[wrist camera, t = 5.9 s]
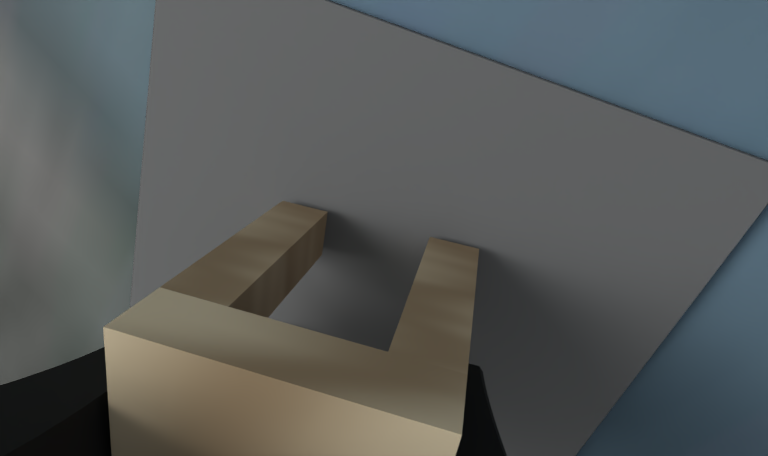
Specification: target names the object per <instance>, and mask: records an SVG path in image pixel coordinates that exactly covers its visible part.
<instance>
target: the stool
mask: <svg viewBox="0 0 768 456" xmlns="http://www.w3.org/2000/svg"><path fill="white" fill-rule="evenodd" d="M327 213H328V212H327V211H323V210H318V209H314V208H310V207H306V206H302V205H298V204H294V203H290V202H286V201H282V202H280V203H279V204H277V205H276V206H274V207H273V208H272V209H270V210H269V211H267V212H266V213H265V214H263V215H262V216H260V217H259V218H257V219H256V220H255V221H253V222H252V223H250V224H249V225H247V226H246V227H245V228H243V229H242V230H240V231H239V232H238V233H236V234H235V235H233V236H232V237H230V238H229V239H228V240H226V241H225V242H223V243H222V244H220V245H219V246H218V247H216V248H215V249H213V250H212V251H211V252H209V253H208V254H206V255H205V256H203V257H202V258H201V259H199V260H198V261H196V262H195V263H193V264H192V265H191V266H189V267H188V268H186V269H185V270H184V271H182V272H181V273H179V274H178V275H176V276H175V277H174V278H172V279H171V280H169V281H168V282H166V283H165V284H164V285H162V286H161V287H159V288H158V289H157V290H155V291H154V292H152V293H151V294H149V295H148V296H147V297H145V298H144V299H142V300H141V301H139V302H138V303H137V304H135V305H134V306H132V307H131V308H130V309H128V310H127V311H125V312H124V313H122V314H121V315H120V316H118V317H117V318H115V319H114V320H112V321H111V322H110V323H108V324H107V325H105V326H104V327H103V330H104V345H105V361H106V376H107V392H108V408H109V423H110V439H111V454H112V456H456V452H457V449H458V446H459V443H460V440H461V436H462V428H463V418H464V407H465V396H466V385H467V375H468V364H469V353H470V342H471V332H472V321H473V310H474V299H475V288H476V278H477V267H478V256H479V249H478V248H474V247H469V246H465V245H461V244H457V243H453V242H449V241H445V240H441V239H437V238H433V237H430V238H429V240H428V243H427V246H426V249H425V252H424V254H423V257H422V260H421V263H420V265H419V268H418V271H417V274H416V276H415V279H414V282H413V285H412V287H411V290H410V293H409V296H408V298H407V301H406V304H405V307H404V310H403V312H402V315H401V318H400V321H399V323H398V326H397V329H396V332H395V334H394V337H393V340H392V343H391V345H390V348H389V351H388V352H387V351H383V350H380V349H376V348H373V347H369V346H365V345H362V344H358V343H355V342H351V341H348V340H344V339H341V338H337V337H334V336H330V335H327V334H323V333H320V332H316V331H312V330H309V329H305V328H302V327H298V326H295V325H291V324H288V323H284V322H281V321H277V320H274V319H270V318H268V317H269V316H270V315H271V314H272V313H273V311H274V310H275V309H276V308H277V307H278V305H279V304H280V303H281V302H282V301H283V300H284V298H285V297H286V296H287V295H288V294H289V293H290V291H291V290H292V289H293V288H294V287H295V286H296V284H297V283H298V282H299V281H300V280H301V279H302V277H303V276H304V275H305V274H306V273H307V272H308V270H309V269H310V268H311V267H312V266H313V265H314V263H315V262H316V261H317V260H318V259H319V258H320V256H321V255H322V251H323V243H324V236H325V228H326V221H327Z"/></svg>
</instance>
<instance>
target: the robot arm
mask: <svg viewBox="0 0 768 456" xmlns="http://www.w3.org/2000/svg"><path fill="white" fill-rule="evenodd" d="M0 456H112V454H111V439H110V423H109V408H108V392H107V376H106V361H105V347H104V348H101V349H99V350H97V351H94V352H92V353H90V354H87V355H85V356H82V357H80V358H78V359H75V360H72V361H70V362H67V363H65V364H62V365H59V366H57V367H54V368H51V369H48V370H45V371H43V372H40V373H37V374H34V375H31V376H28V377H25V378H22V379H19V380H16V381H13V382H10V383H7V384H3V385H0ZM456 456H507V454H506V451H505V448H504V446H503V443H502V440H501V437H500V434H499V431H498V428H497V425H496V422H495V419H494V416H493V412H492V409H491V405H490V402H489V398H488V394H487V390H486V385H485V381H484V375H483V371H482V369H481V368H480V366H477V365H473V364H468V375H467V385H466V396H465V407H464V418H463V428H462V436H461V440H460V443H459V446H458V449H457V452H456Z"/></svg>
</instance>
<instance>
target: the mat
mask: <svg viewBox="0 0 768 456" xmlns="http://www.w3.org/2000/svg"><path fill="white" fill-rule="evenodd" d="M282 201H286V202H290V203H294V204H298V205H302V206H306V207H310V208H314V209H318V210H323V211H327V212H328V213H327V221H326V228H325V236H324V243H323V251H322V255H321V256H320V258H319V259H318V260H317V261H316V262H315V263H314V265H313V266H312V267H311V268H310V269H309V270H308V272H307V273H306V274H305V275H304V276H303V277H302V279H301V280H300V281H299V282H298V283H297V284H296V286H295V287H294V288H293V289H292V290H291V291H290V293H289V294H288V295H287V296H286V297H285V298H284V300H283V301H282V302H281V303H280V304H279V305H278V307H277V308H276V309H275V310H274V311H273V313H272V314H271V315H270V316H269V317H268V318H270V319H274V320H277V321H281V322H284V323H288V324H291V325H295V326H298V327H302V328H305V329H309V330H312V331H316V332H320V333H323V334H327V335H330V336H334V337H337V338H341V339H344V340H348V341H351V342H355V343H358V344H362V345H365V346H369V347H373V348H376V349H380V350H383V351H387V352H388V351H389V348H390V345H391V343H392V340H393V337H394V334H395V332H396V329H397V326H398V323H399V321H400V318H401V315H402V312H403V310H404V307H405V304H406V301H407V298H408V296H409V293H410V290H411V287H412V285H413V282H414V279H415V276H416V274H417V271H418V268H419V265H420V263H421V260H422V257H423V254H424V252H425V249H426V246H427V243H428V240H429V238H430V237H433V238H437V239H441V240H445V241H449V242H453V243H457V244H461V245H465V246H469V247H474V248H478V249H479V256H478V267H477V278H476V288H475V299H474V310H473V321H472V332H471V342H470V353H469V364H473V365H477V366H480V368H481V369H482V371H483V375H484V381H485V385H486V390H487V394H488V398H489V402H490V405H491V409H492V412H493V416H494V419H495V422H496V425H497V428H498V431H499V434H500V437H501V440H502V443H503V446H504V448H505V451H506V454H507V456H576V454H577V453H578V452H579V450H580V449H581V448H582V447H583V445H584V444H585V443H586V441H587V440H588V439H589V437H590V436H591V435H592V433H593V432H594V431H595V429H596V428H597V427H598V426H599V424H600V423H601V422H602V420H603V419H604V418H605V416H606V415H607V414H608V412H609V411H610V410H611V409H612V407H613V406H614V405H615V403H616V402H617V401H618V399H619V398H620V397H621V395H622V394H623V393H624V391H625V390H626V389H627V388H628V386H629V385H630V384H631V382H632V381H633V380H634V378H635V377H636V376H637V374H638V373H639V372H640V370H641V369H642V368H643V367H644V365H645V364H646V363H647V361H648V360H649V359H650V357H651V356H652V355H653V353H654V352H655V351H656V350H657V348H658V347H659V346H660V344H661V343H662V342H663V340H664V339H665V338H666V336H667V335H668V334H669V332H670V331H671V330H672V329H673V327H674V326H675V325H676V323H677V322H678V321H679V319H680V318H681V317H682V315H683V314H684V313H685V311H686V310H687V309H688V308H689V306H690V305H691V304H692V302H693V301H694V300H695V298H696V297H697V296H698V294H699V293H700V292H701V290H702V289H703V288H704V287H705V285H706V284H707V283H708V281H709V280H710V279H711V277H712V276H713V275H714V273H715V272H716V271H717V270H718V268H719V267H720V266H721V264H722V263H723V262H724V260H725V259H726V258H727V256H728V255H729V254H730V252H731V251H732V250H733V249H734V247H735V246H736V245H737V243H738V242H739V241H740V239H741V238H742V237H743V235H744V234H745V233H746V231H747V230H748V229H749V228H750V226H751V225H752V224H753V222H754V221H755V220H756V218H757V217H758V216H759V214H760V213H761V212H762V210H763V209H764V208H765V207H766V205H767V204H768V161H767V160H765V159H762V158H759V157H756V156H754V155H751V154H748V153H745V152H743V151H740V150H737V149H734V148H732V147H729V146H726V145H724V144H721V143H718V142H715V141H713V140H710V139H707V138H704V137H702V136H699V135H696V134H693V133H691V132H688V131H685V130H683V129H680V128H677V127H674V126H672V125H669V124H666V123H663V122H661V121H658V120H655V119H652V118H650V117H647V116H644V115H642V114H639V113H636V112H633V111H631V110H628V109H625V108H622V107H620V106H617V105H614V104H611V103H609V102H606V101H603V100H601V99H598V98H595V97H592V96H590V95H587V94H584V93H581V92H579V91H576V90H573V89H570V88H568V87H565V86H562V85H560V84H557V83H554V82H551V81H549V80H546V79H543V78H540V77H538V76H535V75H532V74H529V73H527V72H524V71H521V70H519V69H516V68H513V67H510V66H508V65H505V64H502V63H499V62H497V61H494V60H491V59H488V58H486V57H483V56H480V55H478V54H475V53H472V52H469V51H467V50H464V49H461V48H458V47H456V46H453V45H450V44H447V43H445V42H442V41H439V40H437V39H434V38H431V37H428V36H426V35H423V34H420V33H417V32H415V31H412V30H409V29H406V28H404V27H401V26H398V25H396V24H393V23H390V22H387V21H385V20H382V19H379V18H376V17H374V16H371V15H368V14H366V13H363V12H360V11H357V10H355V9H352V8H349V7H346V6H344V5H341V4H338V3H335V2H333V1H330V0H156V3H155V15H154V27H153V39H152V51H151V63H150V74H149V86H148V98H147V110H146V122H145V134H144V145H143V157H142V169H141V181H140V193H139V205H138V216H137V228H136V240H135V252H134V264H133V275H132V287H131V299H130V308H131V307H132V306H134V305H135V304H137V303H138V302H139V301H141V300H142V299H144V298H145V297H147V296H148V295H149V294H151V293H152V292H154V291H155V290H157V289H158V288H159V287H161V286H162V285H164V284H165V283H166V282H168V281H169V280H171V279H172V278H174V277H175V276H176V275H178V274H179V273H181V272H182V271H184V270H185V269H186V268H188V267H189V266H191V265H192V264H193V263H195V262H196V261H198V260H199V259H201V258H202V257H203V256H205V255H206V254H208V253H209V252H211V251H212V250H213V249H215V248H216V247H218V246H219V245H220V244H222V243H223V242H225V241H226V240H228V239H229V238H230V237H232V236H233V235H235V234H236V233H238V232H239V231H240V230H242V229H243V228H245V227H246V226H247V225H249V224H250V223H252V222H253V221H255V220H256V219H257V218H259V217H260V216H262V215H263V214H265V213H266V212H267V211H269V210H270V209H272V208H273V207H274V206H276V205H277V204H279V203H280V202H282Z"/></svg>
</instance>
